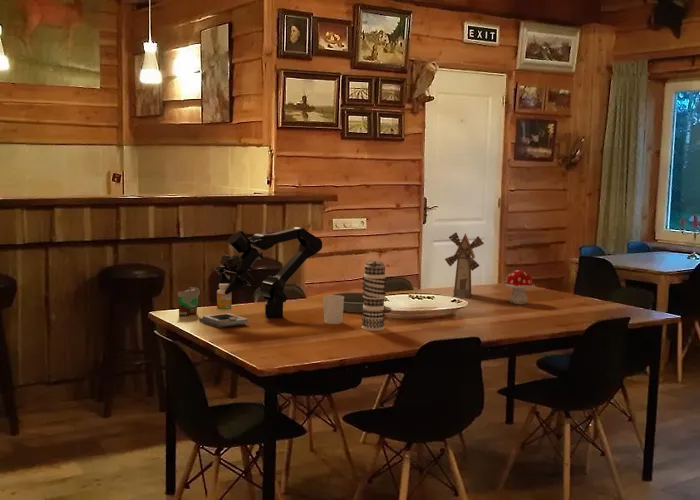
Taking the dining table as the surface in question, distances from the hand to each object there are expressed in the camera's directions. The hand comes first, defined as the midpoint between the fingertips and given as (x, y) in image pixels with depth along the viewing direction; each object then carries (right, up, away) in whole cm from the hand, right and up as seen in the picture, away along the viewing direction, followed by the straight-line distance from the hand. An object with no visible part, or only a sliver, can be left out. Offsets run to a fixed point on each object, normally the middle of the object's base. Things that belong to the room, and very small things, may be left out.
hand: (221, 292), depth 307 cm
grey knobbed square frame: (+1, -12, +2) cm, 12 cm away
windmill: (+100, -6, +78) cm, 127 cm away
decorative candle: (+56, -13, +2) cm, 58 cm away
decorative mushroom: (+123, -8, +63) cm, 138 cm away
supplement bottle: (+1, -7, +2) cm, 7 cm away
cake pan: (+51, -9, +42) cm, 67 cm away
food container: (-14, -10, +17) cm, 24 cm away
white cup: (+41, -12, +10) cm, 44 cm away
